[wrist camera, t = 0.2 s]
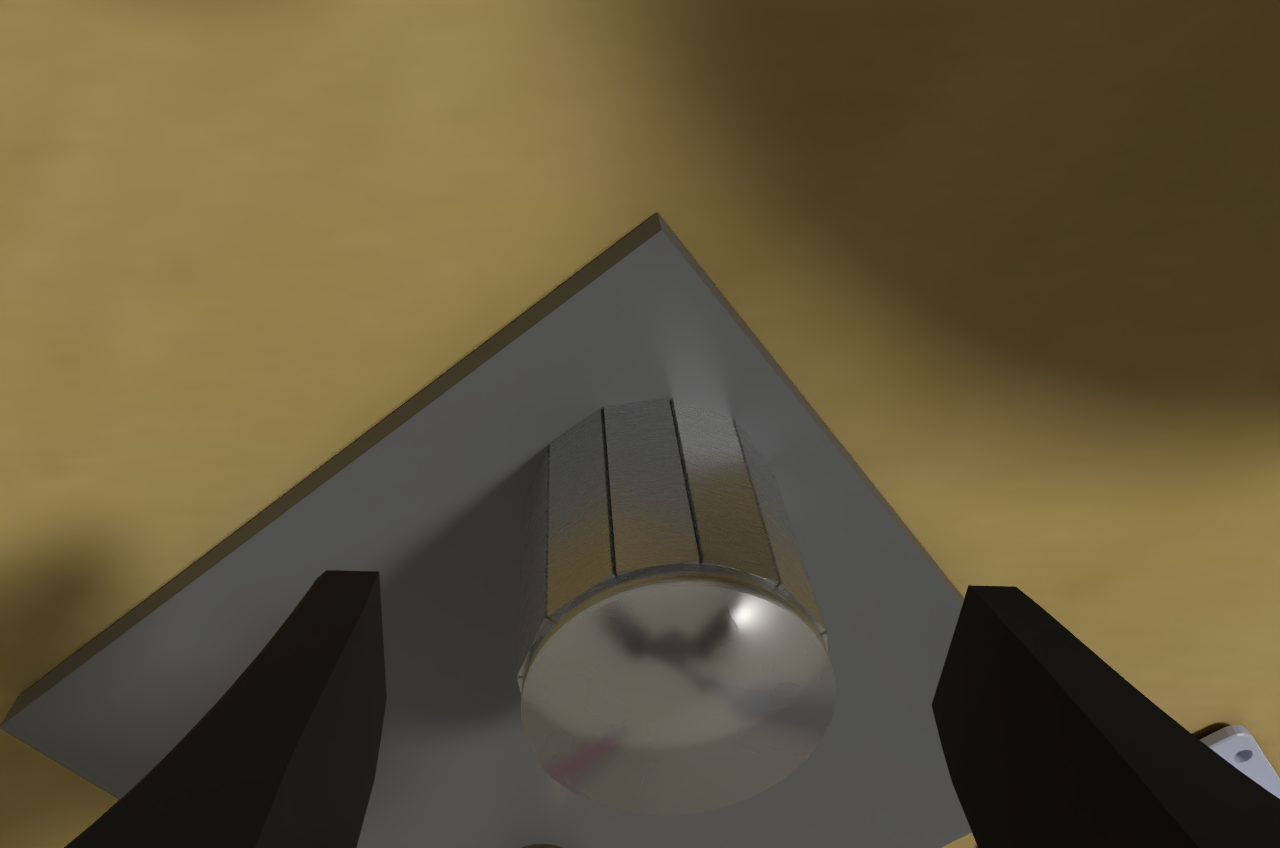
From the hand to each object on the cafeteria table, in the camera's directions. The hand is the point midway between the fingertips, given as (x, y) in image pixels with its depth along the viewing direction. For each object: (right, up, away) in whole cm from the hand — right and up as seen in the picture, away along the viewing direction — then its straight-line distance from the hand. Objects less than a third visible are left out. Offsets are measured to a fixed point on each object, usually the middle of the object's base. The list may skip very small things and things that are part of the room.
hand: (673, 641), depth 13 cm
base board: (-2, -5, +15) cm, 16 cm away
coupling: (0, +1, +10) cm, 10 cm away
